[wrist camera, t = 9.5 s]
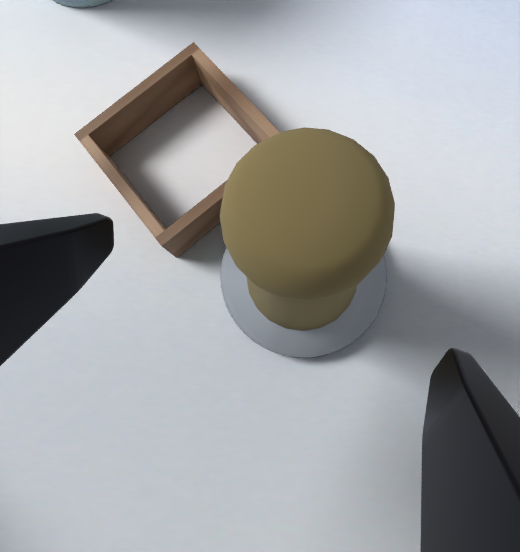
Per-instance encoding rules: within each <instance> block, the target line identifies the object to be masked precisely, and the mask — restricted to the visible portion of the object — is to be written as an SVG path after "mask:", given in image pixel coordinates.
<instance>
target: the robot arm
mask: <svg viewBox="0 0 520 552" xmlns="http://www.w3.org/2000/svg"><path fill="white" fill-rule="evenodd" d="M113 246H114V232H113V221H112V219H111V218H109V217H107V216H104V215H101V214H98V213H93V214H85V215H76V216H68V217H59V218H51V219H42V220H33V221H25V222H16V223H8V224H0V366H1V365H2V364H3V363H4V362H5V361H6V360H7V359H8V358H9V357H10V356H11V355H12V354H13V353H15V352H16V351H17V350H18V349H19V348H20V347H21V346H22V345H23V344H24V343H25V342H26V341H27V340H28V339H29V338H30V337H31V336H32V335H33V334H34V333H35V332H37V331H38V330H39V329H40V328H41V327H42V326H43V325H44V324H45V323H46V322H47V321H48V320H49V319H50V318H51V317H52V316H53V315H54V314H55V313H56V312H57V311H58V310H60V309H61V308H62V307H63V306H64V305H65V304H66V303H67V302H68V301H69V300H70V299H71V298H72V297H73V296H74V295H75V294H76V293H77V292H78V291H79V290H80V289H81V288H82V286H83V285H84V284H85V283H86V282H87V281H88V279H89V278H90V277H91V276H92V275H93V274H94V272H95V271H96V270H97V269H98V268H99V266H100V265H101V264H102V263H103V262H104V260H105V259H106V258H107V257H108V256H109V255H110V253H111V252H112V250H113ZM421 552H520V417H519V416H518V414H517V413H516V412H515V411H514V409H513V408H512V407H511V405H510V404H509V403H508V402H507V400H506V399H505V398H504V396H503V395H502V394H501V393H500V391H499V390H498V389H497V387H496V386H495V385H494V384H493V382H492V381H491V380H490V378H489V377H488V376H487V375H486V373H485V372H484V371H483V369H482V368H481V367H480V366H479V364H478V363H477V362H476V360H475V359H474V358H473V357H472V355H471V354H469V353H467V352H464V351H462V350H459V349H456V348H450V349H449V350H448V351H447V352H446V354H445V355H444V357H443V358H442V359H441V361H440V362H439V364H438V365H437V366H436V368H435V369H434V371H433V373H432V375H431V379H430V386H429V393H428V400H427V407H426V414H425V420H424V428H423V436H422V487H421Z"/></svg>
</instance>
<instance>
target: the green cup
mask: <svg viewBox="0 0 520 552" xmlns="http://www.w3.org/2000/svg"><path fill="white" fill-rule="evenodd" d="M54 1H55V2H56V3H60V4H61V5H66V6H71V7H85V8H86V7H88V6H89V7H93V6H98V5H101V4H104V3H107V2H109V1H111V0H54Z"/></svg>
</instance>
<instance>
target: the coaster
mask: <svg viewBox="0 0 520 552" xmlns="http://www.w3.org/2000/svg"><path fill="white" fill-rule="evenodd" d="M386 282H387V274H386V264H385V258H384V255H383V257H382V259H381V261H380V262H379V263H378V264H377V265H376V266H375V267H374V268H373V270H372V271H371V272H370V273H369V274H368V275H367V276H366V277H365V278H364V279H363V280H362V281H361V282H360V283H359V284H358V285H357V288H356V292H355V294H354V296H353V299H352V301H351V303H350V305H349V307H348V308H347V309H346V310H345V311H344V312H343V313H342V314H341V315H340V316H339V317H338V318H337V320H335V321H333V322H331V323H329V324H327V325H325V326H323V327H321V328H317V329H312V330H306V331H300V330H293V329H286V328H283V327H281V326H279V325H277V324H275V323H273V322H271V321H269V320H268V319H267V318H266V317H265V316H264V315H263V314H262V313H261V312H260V311H259V310H258V309H257V308H256V306H255V304H254V302H253V300H252V298H251V296H250V294H249V290H248V284H247V277H246V275H245V274H243V273H242V272H241V271H240V270H239V269H238V267H237V266H236V265H235V263H234V261H233V259H232V257H231V255H230V253H229V251H228V249H227V248H226V249H225V252H224V255H223V260H222V265H221V288H222V293H223V298H224V301H225V303H226V306H227V309H228V311H229V313H230V315H231V317H232V318H233V320H234V321H235V323H236V324H237V325H238V327H239V328H240V329H241V330H242V331H243V332H244V333H245V334H246V335H247V336H248V337H249V338H250V339H252V340H253V341H254V342H256V343H257V344H259V345H260V346H262V347H264V348H266V349H268V350H270V351H272V352H275V353H278V354H282V355H286V356H291V357H317V356H322V355H326V354H330V353H332V352H335V351H337V350H340V349H342V348H343V347H345V346H347V345H349V344H350V343H352V342H353V341H354V340H356V339H357V338H358V337H359V336H361V335H362V334H363V333H364V332H365V331H366V330H367V328H368V327H369V326H370V325H371V323H372V322H373V320H374V319H375V317H376V315H377V314H378V312H379V309H380V307H381V305H382V302H383V299H384V295H385V291H386Z"/></svg>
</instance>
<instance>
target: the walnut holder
mask: <svg viewBox="0 0 520 552" xmlns="http://www.w3.org/2000/svg"><path fill="white" fill-rule="evenodd" d="M201 85H203V86H204V87H205V88H206V89H207V90H208V91H209V92H210V93H211V94H212V95H213V97H214V98H215V99H216V100H217V101H218V102H219V103H220V104H221V105H222V106H223V107H224V108H225V109H226V111H227V112H228V113H229V114H230V115H231V116H232V117H233V118H234V119H235V120H236V121H237V122H238V123H239V125H240V126H241V127H242V128H243V129H244V130H245V131H246V132H247V133H248V134H249V135H250V136H251V137H252V139H253V140H254V141H255V142H256V143H257V144H259V143H260V142H262V141H264V140H266V139H268V138H270V137H272V136H274V135H276V134H278V133H280V132H279V131H278V130H277V129H276V128H275V127H274V126H273V125H272V124H271V123H270V122H269V121H268V120H267V119H266V118H265V117H264V115H263V114H262V113H261V112H260V111H259V110H258V109H257V108H256V107H255V106H254V105H253V104H252V103H251V102H250V101H249V100H248V99H247V98H246V97H245V96H244V95H243V93H242V92H241V91H240V90H239V89H238V88H237V87H236V86H235V85H234V84H233V83H232V82H231V81H230V80H229V79H228V78H227V77H226V76H225V75H224V74H223V73H222V71H221V70H220V69H219V68H218V67H217V66H216V65H215V64H214V63H213V62H212V61H211V60H210V59H209V58H208V57H207V56H206V55H205V54H204V53H203V52H202V51H201V49H200V48H199V47H198V46H197V45H196V44H195V43H194V42H193V43H192V44H191V45H189V46H188V47H187V48H185V49H184V50H183V51H182V52H180V53H179V54H178V55H176V56H175V57H174V58H172V59H171V60H170V61H169V62H167V63H166V64H165V65H163V66H162V67H161V68H159V69H158V70H157V71H156V72H154V73H153V74H152V75H150V76H149V77H148V78H147V79H145V80H144V81H143V82H141V83H140V84H139V85H137V86H136V87H135V88H134V89H132V90H131V91H130V92H128V93H127V94H126V95H124V96H123V97H122V98H121V99H119V100H118V101H117V102H115V103H114V104H113V105H112V106H110V107H109V108H108V109H106V110H105V111H104V112H102V113H101V114H100V115H99V116H97V117H96V118H95V119H93V120H92V121H91V122H89V123H88V124H87V125H86V126H84V127H83V128H82V129H80V130H79V131H78V132H77V133H75V134H74V135H75V136H76V137H77V138H78V140H79V141H80V142H81V143H82V145H83V146H84V147H85V149H86V150H87V151H88V152H89V154H90V155H91V156H92V158H93V159H94V160H95V161H96V163H97V164H98V165H99V167H100V168H101V169H102V170H103V172H104V173H105V174H106V175H107V177H108V178H109V179H110V181H111V182H112V183H113V184H114V186H115V187H116V188H117V190H118V191H119V192H120V193H121V195H122V196H123V197H124V199H125V200H126V201H127V202H128V204H129V205H130V206H131V207H132V209H133V210H134V211H135V213H136V214H137V215H138V216H139V218H140V219H141V220H142V222H143V223H144V224H145V225H146V227H147V228H148V229H149V231H150V232H151V233H152V234H153V236H154V237H155V238H156V239H157V241H158V242H159V243H160V245H161V246H162V247H164V248H165V249H166V250H167V251H169V252H170V253H171V254H173V255H174V256H175V257H176V258H177V257H178V256H179V255H180V254H182V253H183V252H184V251H185V250H186V249H188V248H189V247H190V246H191V245H193V244H194V243H195V242H196V241H198V240H199V239H200V238H201V237H203V236H204V235H205V234H206V233H208V232H209V231H210V230H211V229H213V228H214V227H215V226H216V225H218V224H219V223H220V210H221V204H222V199H223V193H224V188H225V184H226V182H227V181H226V182H224V183H223V184H222V185H221V186H219V187H218V188H217V189H216V190H214V191H213V192H212V193H211V194H209V195H208V196H207V197H206V198H204V199H203V200H202V201H201V202H199V203H198V204H197V205H196V206H194V207H193V208H192V209H191V210H189V211H188V212H187V213H186V214H184V215H183V216H182V217H181V218H179V219H178V220H177V221H176V222H174V223H173V224H172V225H171V226H169V227H168V228H167V229H166V227H165V226H164V225H163V224H162V222H161V221H160V220H159V219H158V217H157V216H156V215H155V214H154V212H153V211H152V210H151V209H150V207H149V206H148V205H147V204H146V202H145V201H144V200H143V199H142V197H141V196H140V195H139V193H138V192H137V191H136V190H135V188H134V187H133V186H132V185H131V183H130V182H129V181H128V180H127V178H126V177H125V176H124V175H123V173H122V172H121V171H120V170H119V168H118V167H117V166H116V165H115V163H114V162H113V161H112V160H111V158H110V157H109V156H111V155H112V154H113V153H115V152H116V151H117V150H118V149H120V148H121V147H122V146H124V145H125V144H126V143H127V142H129V141H130V140H131V139H133V138H134V137H135V136H136V135H138V134H139V133H140V132H142V131H143V130H144V129H145V128H147V127H148V126H149V125H151V124H152V123H153V122H154V121H156V120H157V119H158V118H160V117H161V116H162V115H163V114H165V113H166V112H167V111H168V110H170V109H171V108H172V107H174V106H175V105H176V104H177V103H179V102H180V101H181V100H183V99H184V98H185V97H186V96H188V95H189V94H190V93H192V92H193V91H194V90H195V89H197V88H198V87H199V86H201Z"/></svg>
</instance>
